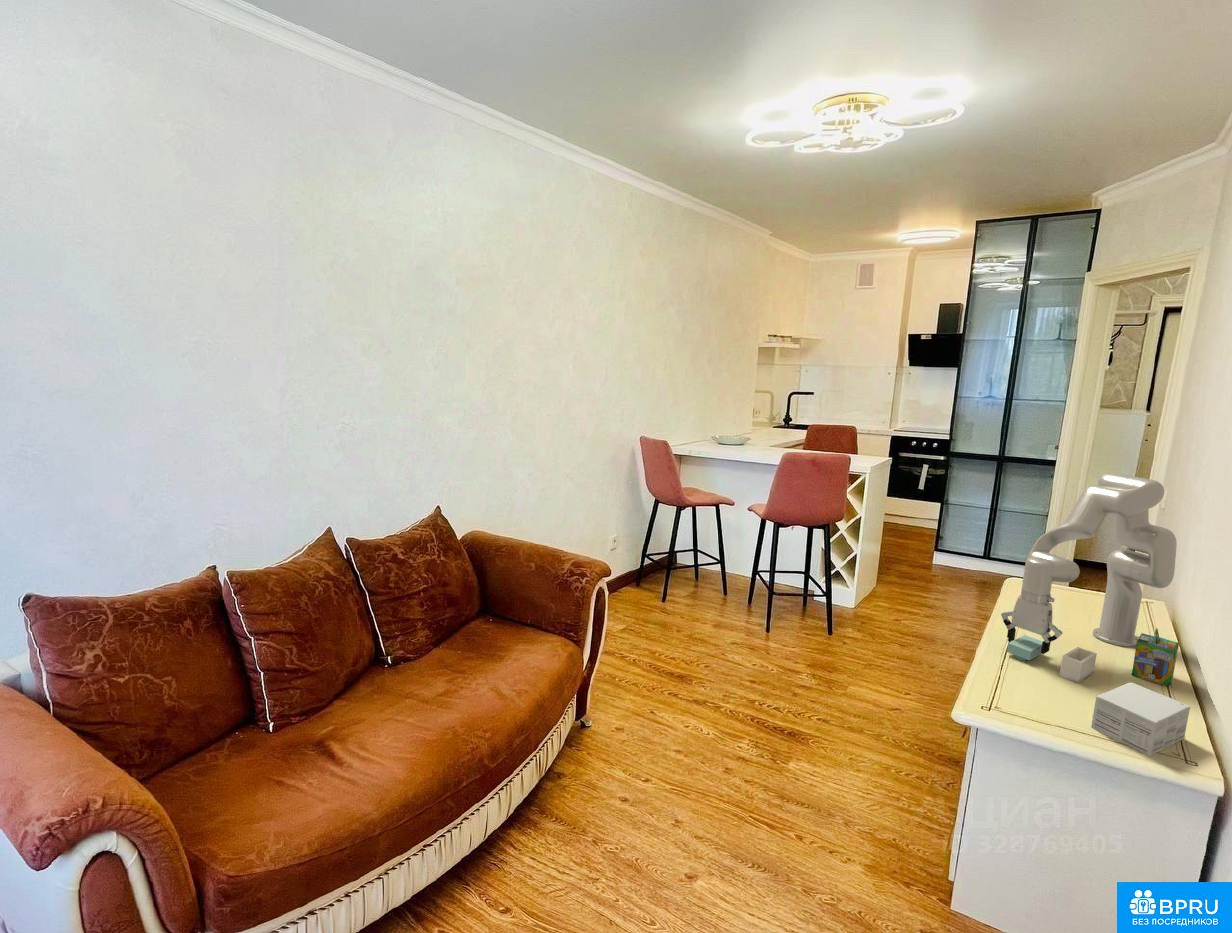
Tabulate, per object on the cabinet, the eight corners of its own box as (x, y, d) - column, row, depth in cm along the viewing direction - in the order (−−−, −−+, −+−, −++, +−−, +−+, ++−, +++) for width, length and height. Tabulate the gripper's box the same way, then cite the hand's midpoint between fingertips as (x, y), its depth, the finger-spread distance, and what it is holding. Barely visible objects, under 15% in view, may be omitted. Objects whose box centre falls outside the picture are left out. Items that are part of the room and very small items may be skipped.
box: (1074, 666, 192) (1077, 647, 191) (1093, 673, 188) (1096, 653, 187) (1059, 675, 186) (1062, 655, 185) (1078, 683, 182) (1082, 662, 181)
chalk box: (1170, 688, 181) (1179, 641, 178) (1130, 675, 187) (1138, 630, 185) (1173, 677, 187) (1183, 632, 184) (1135, 666, 194) (1143, 622, 191)
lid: (1022, 647, 205) (1024, 635, 204) (1044, 655, 199) (1046, 642, 198) (1006, 656, 198) (1008, 643, 197) (1028, 664, 193) (1030, 651, 192)
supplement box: (1124, 712, 168) (1130, 681, 166) (1184, 739, 156) (1191, 706, 154) (1089, 727, 160) (1095, 694, 158) (1149, 757, 149) (1157, 722, 147)
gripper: (1071, 603, 190) (1063, 654, 193) (1011, 585, 204) (1004, 633, 207) (1061, 608, 186) (1052, 660, 189) (1000, 589, 200) (993, 639, 203)
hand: (1027, 646), depth 198 cm, fingers open, 9 cm apart
